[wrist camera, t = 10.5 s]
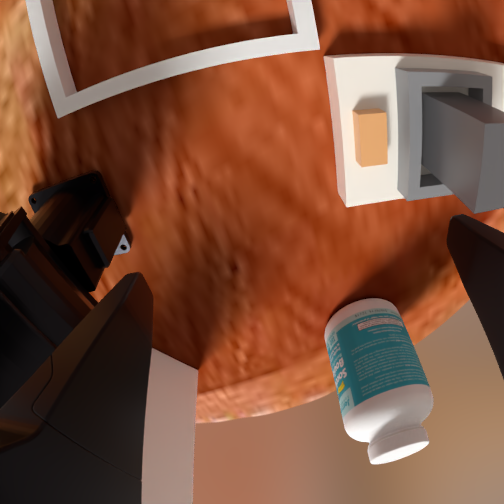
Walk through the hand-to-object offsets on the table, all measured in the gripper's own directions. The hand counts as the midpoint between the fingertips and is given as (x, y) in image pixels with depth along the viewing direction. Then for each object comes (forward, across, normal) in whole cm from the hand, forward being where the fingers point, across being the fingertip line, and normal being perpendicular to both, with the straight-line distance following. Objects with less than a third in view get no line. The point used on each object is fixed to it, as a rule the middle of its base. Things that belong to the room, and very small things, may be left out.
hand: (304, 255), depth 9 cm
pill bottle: (+12, -6, +19) cm, 23 cm away
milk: (+12, +15, +22) cm, 29 cm away
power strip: (+12, -14, 0) cm, 19 cm away
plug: (+10, -10, 0) cm, 15 cm away
